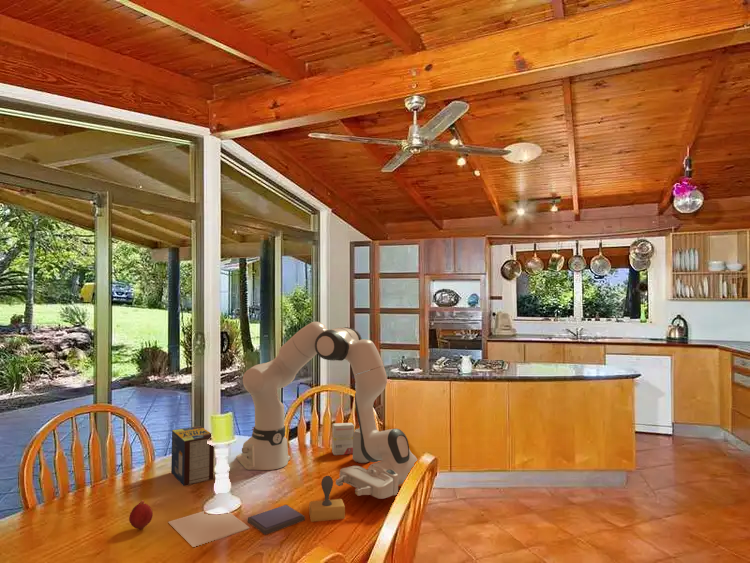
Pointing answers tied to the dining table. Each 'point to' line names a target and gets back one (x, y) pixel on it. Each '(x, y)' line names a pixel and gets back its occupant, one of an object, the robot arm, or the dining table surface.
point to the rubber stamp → (326, 505)
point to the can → (358, 448)
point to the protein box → (192, 455)
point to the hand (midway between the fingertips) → (346, 487)
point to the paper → (207, 527)
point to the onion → (140, 515)
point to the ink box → (342, 438)
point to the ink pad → (276, 519)
